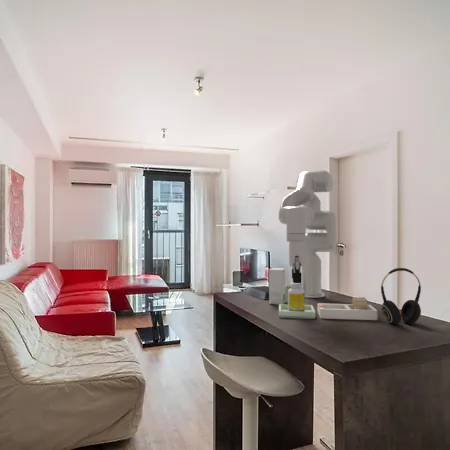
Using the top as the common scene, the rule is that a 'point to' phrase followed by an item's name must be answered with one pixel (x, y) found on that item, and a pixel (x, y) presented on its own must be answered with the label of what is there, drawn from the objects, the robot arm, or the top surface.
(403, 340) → the top surface
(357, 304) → the birch block
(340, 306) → the holder
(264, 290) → the external hard drive
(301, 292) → the pill bottle
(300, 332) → the top surface
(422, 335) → the top surface
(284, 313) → the tray
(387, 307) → the headphones
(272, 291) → the skincare box
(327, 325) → the top surface
